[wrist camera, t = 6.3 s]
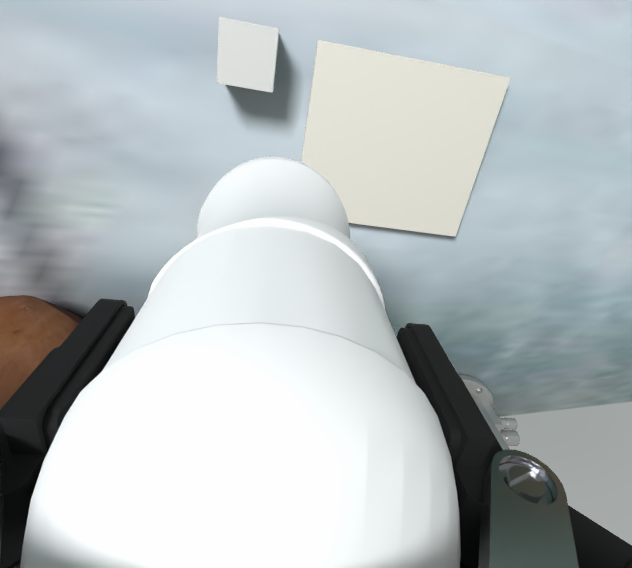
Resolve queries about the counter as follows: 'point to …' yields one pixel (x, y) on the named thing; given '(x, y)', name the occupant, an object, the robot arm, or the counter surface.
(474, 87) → the placemat
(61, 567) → the water bottle
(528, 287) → the counter surface
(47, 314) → the butternut squash
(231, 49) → the pale grey block
